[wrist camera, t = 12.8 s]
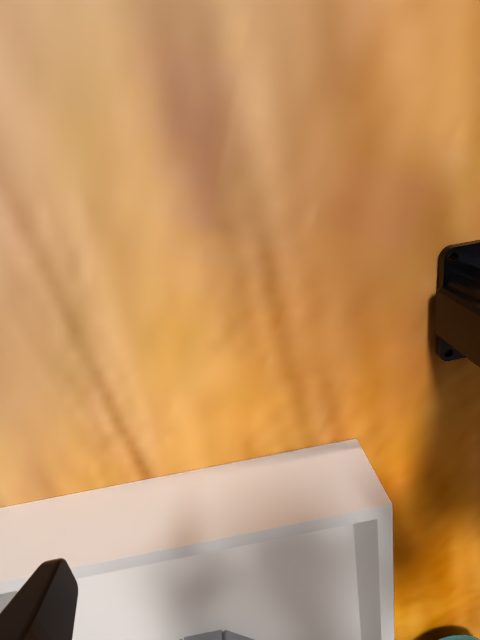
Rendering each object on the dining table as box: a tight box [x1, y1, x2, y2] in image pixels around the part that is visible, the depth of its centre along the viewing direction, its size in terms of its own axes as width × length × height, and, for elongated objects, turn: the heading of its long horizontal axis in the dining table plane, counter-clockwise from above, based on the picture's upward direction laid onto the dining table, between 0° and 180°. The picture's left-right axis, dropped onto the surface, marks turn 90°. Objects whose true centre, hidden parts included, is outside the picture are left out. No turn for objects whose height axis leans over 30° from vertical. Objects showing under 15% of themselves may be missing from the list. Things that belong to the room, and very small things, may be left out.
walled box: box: [0, 439, 394, 640], centre depth 27 cm, size 24×24×5 cm
